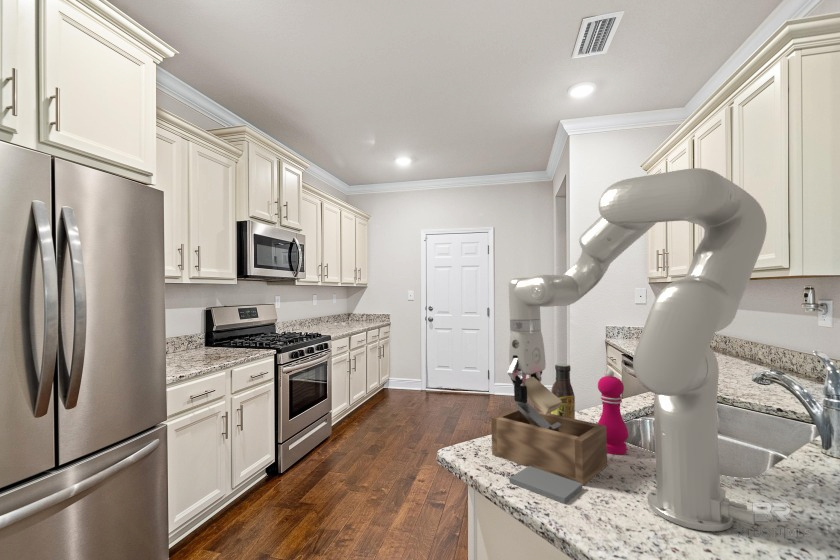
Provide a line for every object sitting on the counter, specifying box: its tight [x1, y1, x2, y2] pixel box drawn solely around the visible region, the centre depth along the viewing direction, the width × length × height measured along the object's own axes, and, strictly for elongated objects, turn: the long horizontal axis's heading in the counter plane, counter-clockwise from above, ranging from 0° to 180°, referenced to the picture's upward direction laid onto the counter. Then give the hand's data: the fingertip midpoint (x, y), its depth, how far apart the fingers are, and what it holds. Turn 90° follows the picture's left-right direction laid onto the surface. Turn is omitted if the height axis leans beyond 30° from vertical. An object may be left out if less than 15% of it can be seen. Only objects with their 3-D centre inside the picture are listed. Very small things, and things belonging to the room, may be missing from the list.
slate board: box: [508, 466, 584, 504], centre depth 80 cm, size 12×8×1 cm, turn 44°
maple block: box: [525, 377, 562, 414], centre depth 94 cm, size 9×6×2 cm
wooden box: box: [490, 407, 608, 486], centre depth 93 cm, size 23×13×9 cm, turn 44°
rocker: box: [513, 402, 561, 432], centre depth 92 cm, size 18×6×4 cm
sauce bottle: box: [550, 363, 576, 419], centre depth 108 cm, size 6×6×20 cm
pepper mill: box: [597, 369, 629, 456], centre depth 98 cm, size 7×7×20 cm
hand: (528, 398), depth 97 cm, fingers closed on maple block, 6 cm apart
